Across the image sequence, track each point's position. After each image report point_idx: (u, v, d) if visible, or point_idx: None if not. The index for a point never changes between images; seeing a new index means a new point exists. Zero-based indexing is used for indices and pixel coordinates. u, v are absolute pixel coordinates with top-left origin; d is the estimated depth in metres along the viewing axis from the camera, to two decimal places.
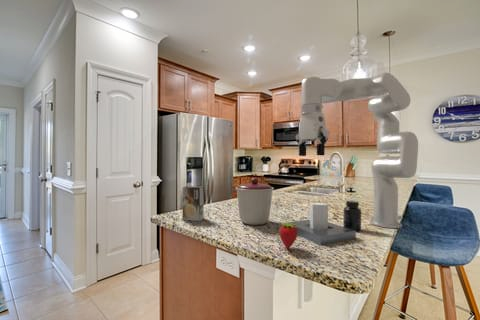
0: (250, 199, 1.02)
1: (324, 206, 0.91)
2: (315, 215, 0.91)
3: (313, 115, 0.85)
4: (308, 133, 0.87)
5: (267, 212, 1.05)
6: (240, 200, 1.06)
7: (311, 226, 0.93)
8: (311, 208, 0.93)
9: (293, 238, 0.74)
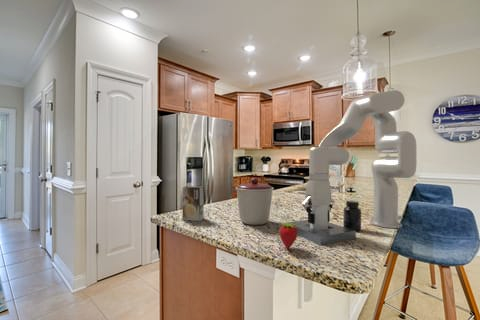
0: (250, 199, 1.02)
1: (324, 206, 0.91)
2: (315, 215, 0.91)
3: (329, 183, 0.93)
4: (325, 200, 0.91)
5: (267, 212, 1.05)
6: (240, 200, 1.06)
7: (311, 226, 0.93)
8: (311, 208, 0.93)
9: (293, 238, 0.74)
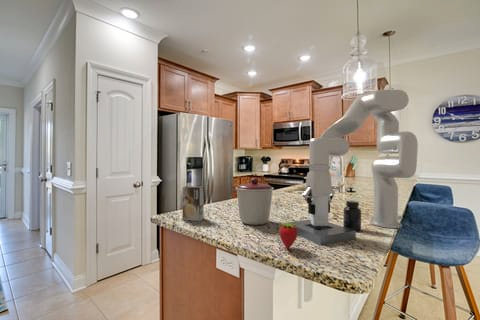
0: (250, 199, 1.02)
1: (324, 197, 0.91)
2: (316, 206, 0.91)
3: (329, 174, 0.93)
4: (325, 191, 0.91)
5: (267, 212, 1.05)
6: (240, 200, 1.06)
7: (312, 217, 0.93)
8: (311, 199, 0.93)
9: (293, 238, 0.74)
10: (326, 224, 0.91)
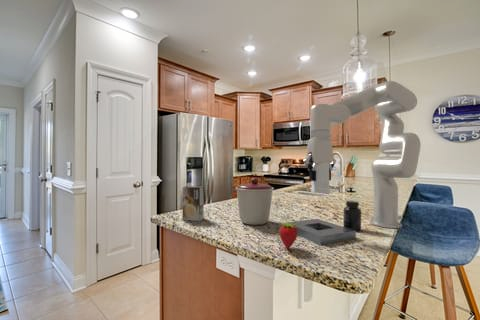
0: (250, 199, 1.02)
1: (325, 163, 0.90)
2: (317, 172, 0.90)
3: (330, 141, 0.92)
4: (326, 158, 0.91)
5: (267, 212, 1.05)
6: (240, 200, 1.06)
7: (312, 184, 0.93)
8: (312, 166, 0.92)
9: (293, 238, 0.74)
10: (327, 191, 0.90)
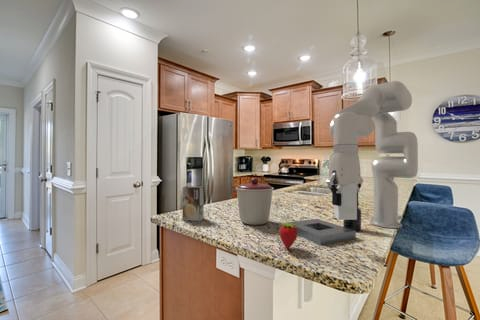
0: (250, 199, 1.02)
1: (352, 184, 0.75)
2: (342, 195, 0.75)
3: (358, 158, 0.76)
4: (353, 178, 0.75)
5: (267, 212, 1.05)
6: (240, 200, 1.06)
7: (336, 209, 0.77)
8: (336, 187, 0.77)
9: (293, 238, 0.74)
10: (354, 218, 0.75)
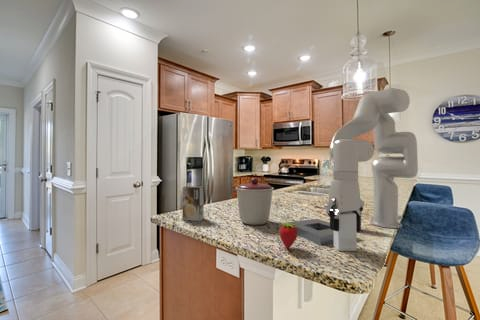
0: (250, 199, 1.02)
1: (352, 216, 0.75)
2: (341, 227, 0.75)
3: (358, 184, 0.76)
4: (353, 204, 0.75)
5: (267, 212, 1.05)
6: (240, 200, 1.06)
7: (335, 240, 0.77)
8: None
9: (293, 238, 0.74)
10: (354, 249, 0.75)
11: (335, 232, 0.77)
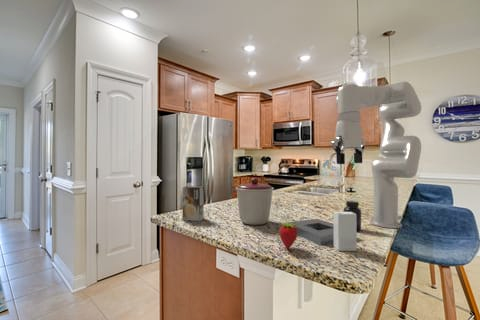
0: (250, 199, 1.02)
1: (352, 216, 0.75)
2: (342, 227, 0.75)
3: (360, 124, 0.88)
4: (356, 141, 0.87)
5: (267, 212, 1.05)
6: (240, 200, 1.06)
7: (335, 240, 0.77)
8: (336, 218, 0.76)
9: (293, 238, 0.74)
10: (354, 249, 0.75)
11: (335, 232, 0.77)
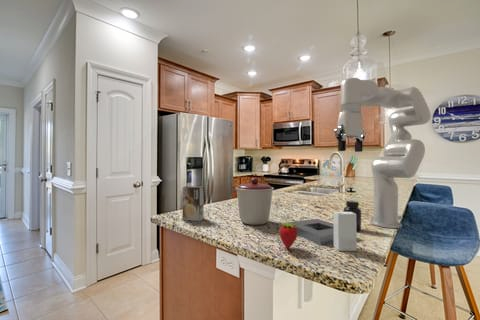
0: (250, 199, 1.02)
1: (352, 216, 0.75)
2: (341, 227, 0.75)
3: (360, 115, 0.95)
4: (357, 130, 0.94)
5: (267, 212, 1.05)
6: (240, 200, 1.06)
7: (335, 240, 0.77)
8: (336, 218, 0.76)
9: (293, 238, 0.74)
10: (354, 249, 0.75)
11: (335, 232, 0.77)
